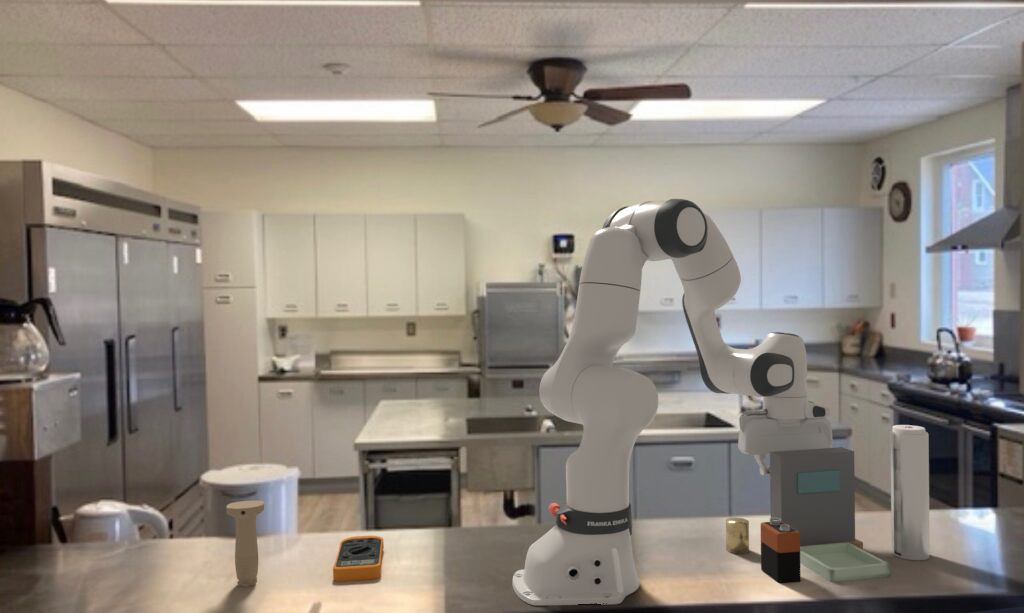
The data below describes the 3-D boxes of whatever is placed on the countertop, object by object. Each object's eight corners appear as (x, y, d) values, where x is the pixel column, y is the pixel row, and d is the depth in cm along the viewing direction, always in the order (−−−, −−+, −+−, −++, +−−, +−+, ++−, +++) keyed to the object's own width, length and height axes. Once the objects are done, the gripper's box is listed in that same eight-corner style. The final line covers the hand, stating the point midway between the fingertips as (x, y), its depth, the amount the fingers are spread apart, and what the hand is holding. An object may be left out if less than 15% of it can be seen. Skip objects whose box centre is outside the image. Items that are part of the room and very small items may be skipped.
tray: (830, 582, 130) (830, 570, 130) (792, 558, 141) (792, 547, 141) (890, 576, 132) (890, 564, 132) (848, 553, 144) (848, 542, 144)
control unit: (780, 557, 142) (778, 457, 142) (763, 547, 148) (762, 451, 147) (863, 549, 145) (861, 452, 145) (843, 540, 151) (842, 445, 151)
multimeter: (384, 549, 152) (383, 533, 152) (380, 583, 134) (380, 565, 134) (341, 552, 151) (341, 535, 151) (332, 587, 133) (332, 568, 133)
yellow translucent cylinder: (732, 555, 144) (732, 525, 144) (722, 548, 148) (721, 518, 148) (753, 553, 144) (753, 523, 144) (742, 546, 149) (741, 516, 149)
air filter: (934, 561, 138) (933, 430, 138) (897, 559, 140) (896, 429, 139) (922, 549, 145) (921, 423, 144) (887, 548, 146) (886, 423, 146)
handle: (263, 590, 131) (261, 507, 131) (226, 593, 130) (223, 509, 130) (267, 580, 136) (265, 499, 135) (231, 583, 135) (229, 502, 134)
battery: (781, 568, 136) (781, 515, 136) (801, 583, 130) (801, 527, 129) (760, 570, 136) (759, 517, 136) (778, 585, 129) (778, 528, 129)
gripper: (747, 412, 150) (747, 479, 151) (836, 408, 154) (837, 474, 154) (732, 408, 157) (732, 472, 157) (818, 404, 160) (819, 467, 161)
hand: (785, 473), depth 156 cm, fingers open, 8 cm apart
